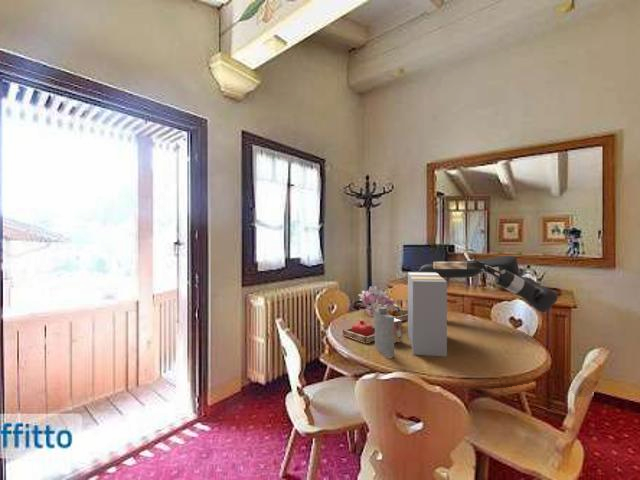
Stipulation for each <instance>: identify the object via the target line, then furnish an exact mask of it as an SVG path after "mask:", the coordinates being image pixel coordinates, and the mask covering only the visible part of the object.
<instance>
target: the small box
mask: <svg viewBox="0 0 640 480" xmlns="http://www.w3.org/2000/svg"><path fill="white" fill-rule="evenodd" d="M402 327H403V321H401V320H399V319H396V318H394V344H396V342H398V343H402V341H403V339H402V338H403V336H402V335H403V334H402V333H403V328H402Z"/></svg>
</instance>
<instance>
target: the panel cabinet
mask: <svg viewBox="0 0 640 480" xmlns="http://www.w3.org/2000/svg"><path fill="white" fill-rule="evenodd" d="M407 310H408V320H407V334H409V335H408V339H409V342H410V347H411V352H412V355H417V356H433V357H436V356H437V357H448V281H447V280H446V279H445V278H442V277H441V276H440V275H439V274H437V273H436V272H419V271H407Z"/></svg>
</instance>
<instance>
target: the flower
mask: <svg viewBox="0 0 640 480" xmlns="http://www.w3.org/2000/svg"><path fill="white" fill-rule="evenodd" d="M357 296H359V298H360V299H359V301H361V302H363V305H364V306H365V307H366V309H367V310H370V311H369V312H368V315H369V316H368V317H371V316H370V315H371V312H373V314H372V316H373V317H372V318H373V320H374V321H375V309H377V308H379V307H386V308H387V310H386V311H388V310H389V309H391V310H393V309H394V310H397V309H396V308H395V306H394V305H393V304H396V301H395V299H394V298H390V296H388V295H387V292H386V291H384V290H382V289H377V286H375V285H373V286H372V285H371V286H369V288H368V290H366V291H365V290H361V293H359V294H358V295H357ZM380 304H381V305H380ZM384 305H385V306H384ZM374 307H375V308H374ZM397 312H398V310H397ZM387 314H388V313H387ZM370 325H371V326H372V327H375V323H371V324H370Z"/></svg>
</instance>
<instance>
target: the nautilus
mask: <svg viewBox="0 0 640 480" xmlns="http://www.w3.org/2000/svg"><path fill="white" fill-rule="evenodd" d="M379 305H381V303H379ZM393 305H394V306H395V308H396V309H397V310H398V312H397V310H394V309H393V310H391V309H389V310H388V311H386V313H388V314H389V315H392V316H395V317H398V316H400V315H401V314H400V311H401V310H400V309H401V308H400V306H398V304H396V303H394V304H393ZM384 306H385V305H384ZM377 309H378V308H377Z"/></svg>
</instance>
